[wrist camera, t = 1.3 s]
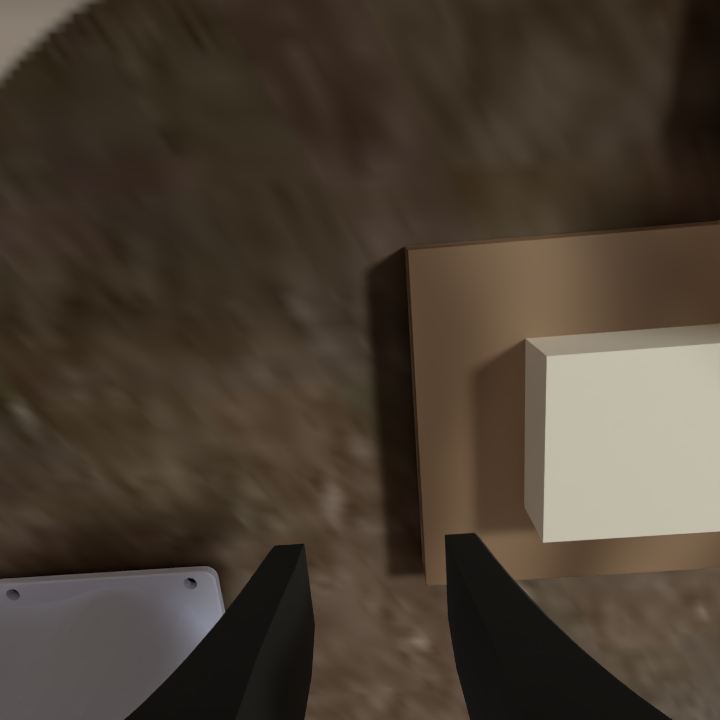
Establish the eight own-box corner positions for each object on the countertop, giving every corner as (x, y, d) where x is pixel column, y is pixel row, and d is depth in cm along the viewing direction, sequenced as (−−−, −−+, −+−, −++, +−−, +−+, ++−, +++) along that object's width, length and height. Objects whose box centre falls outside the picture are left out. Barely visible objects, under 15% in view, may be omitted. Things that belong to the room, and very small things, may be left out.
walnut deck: (422, 558, 20) (426, 585, 19) (404, 246, 17) (408, 250, 16) (735, 538, 20) (764, 564, 19) (781, 215, 17) (820, 216, 15)
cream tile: (524, 507, 18) (542, 542, 16) (525, 338, 16) (546, 356, 14) (791, 489, 18) (842, 523, 16) (820, 316, 16) (882, 330, 14)
